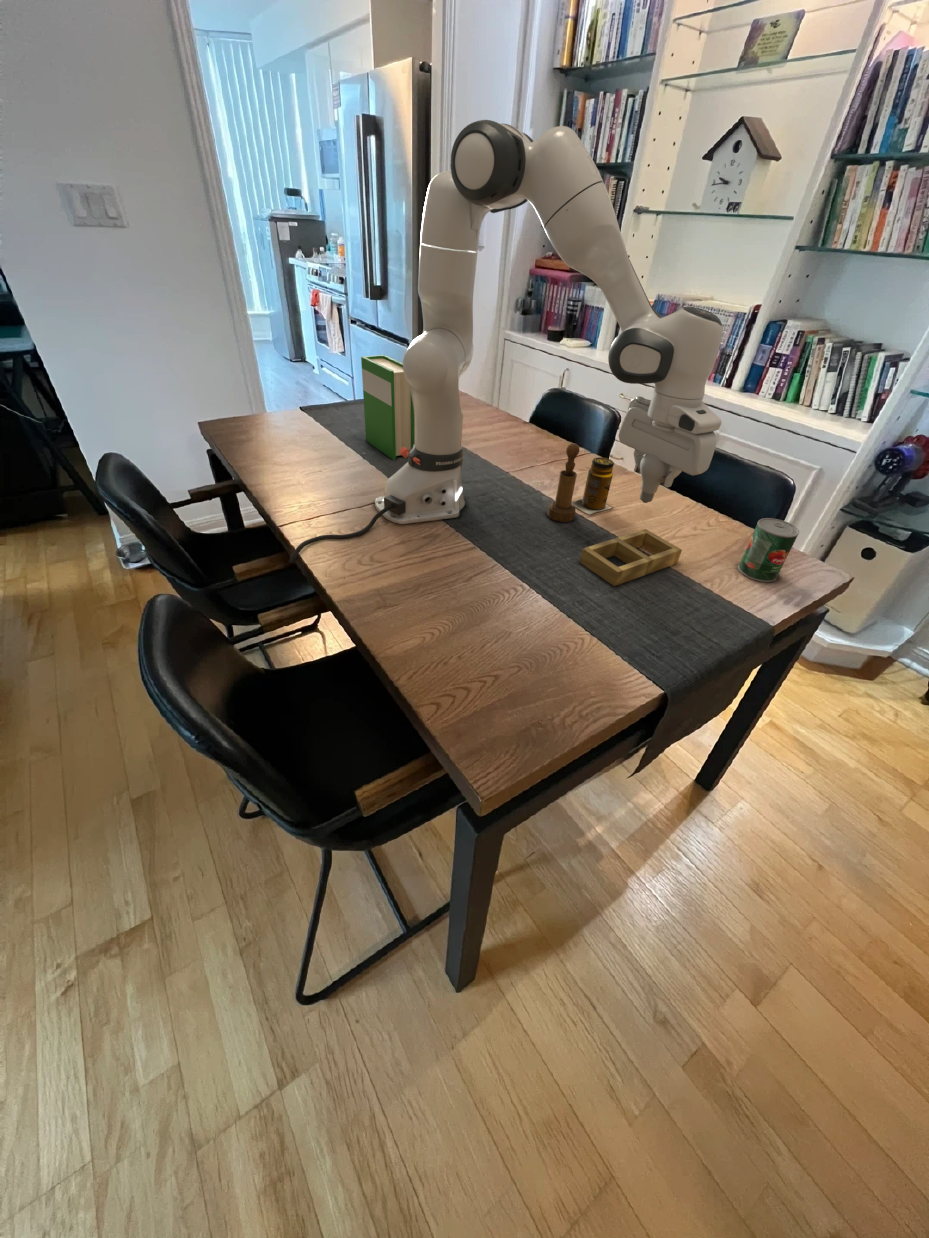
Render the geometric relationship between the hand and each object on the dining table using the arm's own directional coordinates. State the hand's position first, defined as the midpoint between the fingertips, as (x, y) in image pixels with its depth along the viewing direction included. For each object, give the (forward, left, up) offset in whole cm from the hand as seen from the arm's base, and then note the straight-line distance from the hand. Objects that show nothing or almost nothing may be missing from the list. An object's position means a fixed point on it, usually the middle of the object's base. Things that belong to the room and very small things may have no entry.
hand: (652, 479), depth 107 cm
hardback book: (-20, +80, -18) cm, 85 cm away
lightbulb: (0, 0, -5) cm, 5 cm away
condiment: (+9, +22, -18) cm, 30 cm away
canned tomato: (+20, -19, -18) cm, 33 cm away
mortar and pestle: (-2, +21, -18) cm, 28 cm away
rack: (-3, -3, -18) cm, 18 cm away
